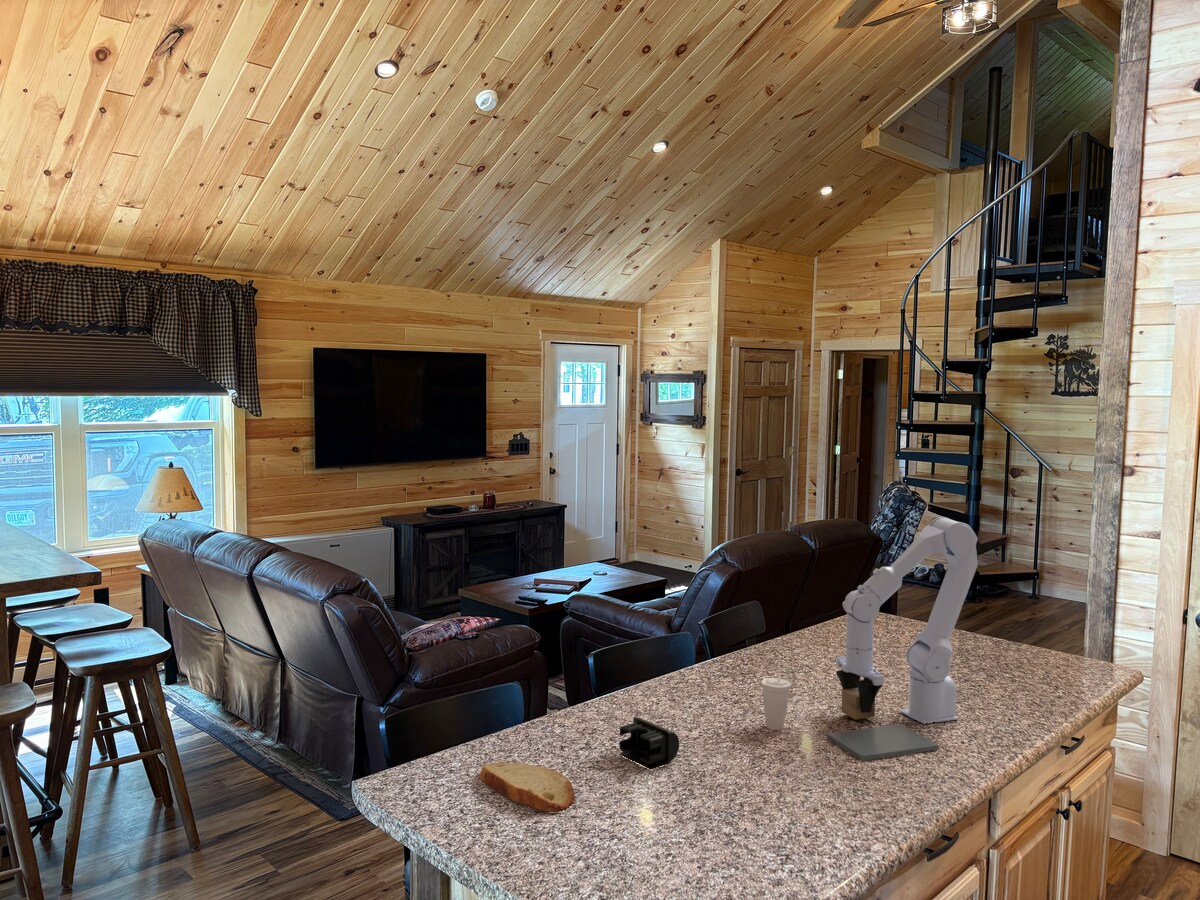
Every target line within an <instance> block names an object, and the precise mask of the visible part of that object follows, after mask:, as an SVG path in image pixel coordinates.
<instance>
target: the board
mask: <svg viewBox="0 0 1200 900" xmlns="http://www.w3.org/2000/svg"><path fill="white" fill-rule="evenodd" d="M826 738H828V739H827V740H828V741H830V740H831V741H830V742H832V741H833V742H834V743H833V742H832V743H833V744H835V743H836V744H837V745H836V744H835V745H836V746H837V747H839V746H840V747H839V748H841V749H842V748H843V750H844V751H846V752H847V753H849V754H850V755H852V756H853V757H855V758H856V759H858V760H859V761H860V762H866V761H867V760H868V761H873V760H872V759H875V760H879V758H881V759H884V758H883V757H888V758H891V757H890V756H895V757H899V756H898V755H901V756H906V755H905V754H908V755H912V754H911V753H915V754H917V753H916V752H921V753H924V752H923V751H928V752H931V751H930V750H934V751H938V750H939V744H938V743H935V742H934V741H932V740H930V739H928V738H927V737H925V736H923V735H921V734H920V733H917V732H915V731H914V730H912V729H910V728H909V727H906V726H905V725H903V724H901V723H896V724H889V725H881V726H875V727H868V728H867V727H866V728H859V729H852V730H845V731H836V732H830V733H827V735H826ZM937 749H938V750H937ZM896 755H897V756H896Z"/></svg>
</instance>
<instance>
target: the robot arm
mask: <svg viewBox="0 0 1200 900" xmlns="http://www.w3.org/2000/svg"><path fill="white" fill-rule="evenodd" d="M978 540H979V539H978V536H977V534H976V533H975V531H974V529H972V527H971V526H970V525H969V524H967V523H965V522H961V521H956V520H953V519H951V518H949V517H946V516H939V517H936V518H934V519H933V520H932V521H931V522H930V524H928V525H926V526H924V527H923V529H922V530H921V532H920V534H919V535H918V536H917V538H916V539H915V540H913V542H911V544H910V545H909V546H908V547H907V548H906V549H905V550H904V551H903V552H902V553H901V555H899V557H897V558H896V560H895V561H894V562H892V564H891V565H890V566H881V567H880V568H879V569H878V568H874V570H873V571H872V575H871V576H870V577H869V578H868V579H867V580H866V581H865V582H864V583H863V584H862V585H861V584H859V585H858V586H857V587H856V589H855V590H852V591H850V592H849V593H848V594H846V596H845V598H844V599H845V600H844V601H843V602H842V607H843V611H845V612H846V631H845V632H846V634H845V637H846V638H845V639H846V640H845V656H838V657H836V659H835V662H836V663H835V666H836V667H837V668H841V670H837V671H836V672H835V673H836V676H837V678H838V680H839V682H840V685H841V688H842V690H843V689H850V688H858V691H859V696H860V708H861V712H862V713H866V712H871V709H872V706H873V703H874V700H875V701H876V697H877V694H878V693H879V691H880V689H881V688H882V686H883V685H884V682H885V681H884V680H885V679H884V677H885V676H884V675H882V674H881V673H879V671H878V670H877V669H876V668H875V667H874V635H875V634H874V630H875V628H874V627H875V626H874V624H875V623H874V622H875V618H877V617H878V615H879V612H880V607H881V606H882V605H883V604H884V603H885V602H886V601H888V599H890V597H892V596H893V595H894V593H896V592H897V591H898V590H899V589H900V588H901V587H902V585H903V584H902V583H903V577H905V575H907V574H908V573H910V571H912V570H914V568H915V567H917V566H918V565H919V564H920V563H921V562H922V561H924V560H925V559H927V557H929V556H930V555H935V554H937V555H938V554H944V556H945V558H946V560H947V561H948V567H947V570H946V572H945V575H944V578H943V580H942V583H941V586H940V589H939V592H938V594H937V597H936V599H935V602H934V604H933V608H932V609H931V613H930V615H929V617H928V621H927V622H926V623H927V624H926V626H925V629H924V630H922V631H920V632H919V633H918V634H917V635H916V638H915V639H914V642H913V643H911V645H909V646H908V648H907V650H906V653H905V658H906V662H907V664H908V665H909V666H910V672H909V674H910V675H909V677H910V678H909V699H908V700H909V702H908V703H909V704H908V708H903V709H900V710H899V711H900V713H901V714H904V715H905V716H907V717H909V718H911V719H913V720H915V721H916V720H917V722H918V721H919V722H918V723H920V722H921V723H920V724H922V723H923V725H927V724H926V723H928V724H933V722H935V723H942V722H948V721H954V720H957V721H958V720H959V717H958V715H957V716H956V714H957V713H956V712H957V687H956V684H955V681H954V680H953V678H952V677H951V676H950V672H951V668H952V664H951V658H952V654H953V648H952V644H951V637H952V635H953V632H954V629H955V626H956V624H957V621H958V620H959V616H960V613H961V610H962V608H963V605H964V602H965V600H966V597H967V595H968V593H969V589H970V587H971V583H972V581H973V579H974V576H975V574H976V571H977V567H978V564H979V561H978V552H977V542H978ZM861 678H863V679H861Z"/></svg>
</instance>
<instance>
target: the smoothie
mask: <svg viewBox="0 0 1200 900" xmlns="http://www.w3.org/2000/svg"><path fill="white" fill-rule="evenodd" d="M760 687H761V689H762V699H763V709H764V717H765V727H766V728H767V729H768V730H773V731H781V730H784V728H785V723H786V722H785V721H786V716H787V711H788V710H787V709H788V701H789V696H790V690H791V689H792V683H791V682H790V681H789V680H787V679H784V678H781V662H779V661H777V677H767V678H763V679H762V680H761V681H760Z"/></svg>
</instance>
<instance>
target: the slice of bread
mask: <svg viewBox="0 0 1200 900" xmlns="http://www.w3.org/2000/svg"><path fill="white" fill-rule="evenodd" d="M478 778H479V780H481V781H482V783H483V784H484V785H485V786H487V787H488V788H489V789H491V788H492V789H491V790H493V791H495V792H496V793H497V792H498V794H499V795H500V796H502V797H503V796H504V798H506V799H507V800H509V801H511V802H513V803H514V804H516V803H517V804H516V805H520V804H521V805H520V806H523V805H524V806H523V807H525V806H526V807H530V808H529V809H532V810H534V809H535V810H534V811H537V812H539V811H542V812H541V813H545V812H559V811H563V810H566V809H567V808H569V806H571V805H572V804H574V802H575V803H576V795H575V789H574V786H573V784H572V782H571V780H570V779H569V778H567V777H566V776H565V775H564V774H563V773H561V772H559V771H555V770H553V769H551V768H548V767H544V766H540V767H539V766H535V765H532V764H527V763H520V762H509V761H508V762H495V763H487V764H484V765H483V766H482V769H481V771H480V773H479V776H478ZM526 807H525V808H526Z"/></svg>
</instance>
